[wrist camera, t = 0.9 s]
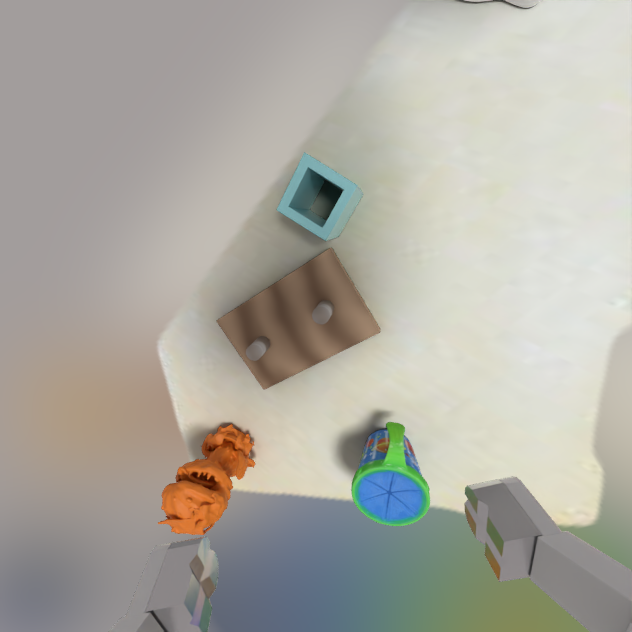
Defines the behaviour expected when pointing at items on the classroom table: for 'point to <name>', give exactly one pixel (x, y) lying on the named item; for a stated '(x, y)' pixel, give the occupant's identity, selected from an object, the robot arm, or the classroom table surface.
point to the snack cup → (390, 479)
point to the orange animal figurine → (207, 482)
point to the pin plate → (299, 321)
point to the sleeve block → (306, 190)
